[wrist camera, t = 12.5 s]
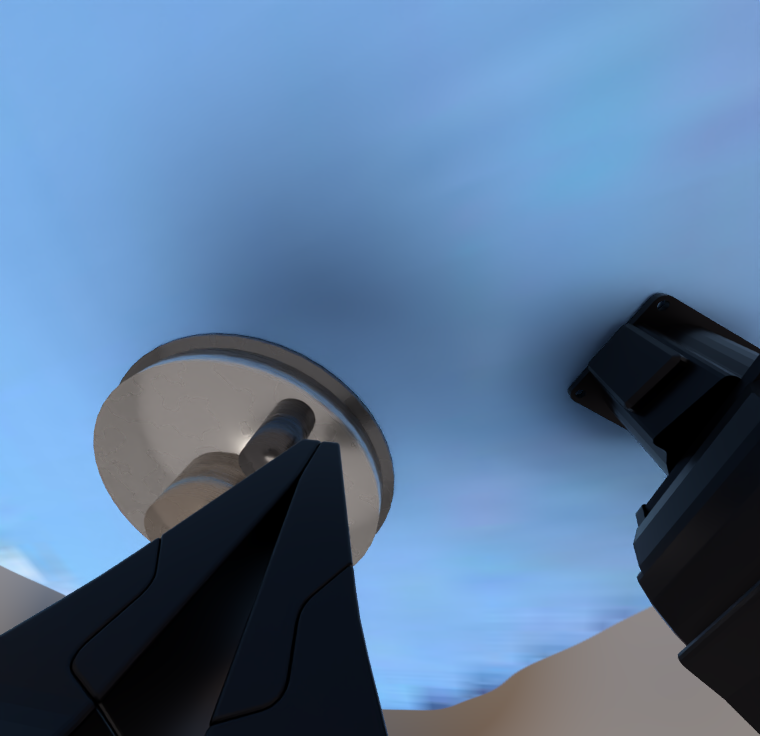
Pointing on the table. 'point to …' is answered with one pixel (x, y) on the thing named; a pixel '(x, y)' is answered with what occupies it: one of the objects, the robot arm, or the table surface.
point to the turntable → (227, 429)
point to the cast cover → (192, 491)
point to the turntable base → (304, 366)
